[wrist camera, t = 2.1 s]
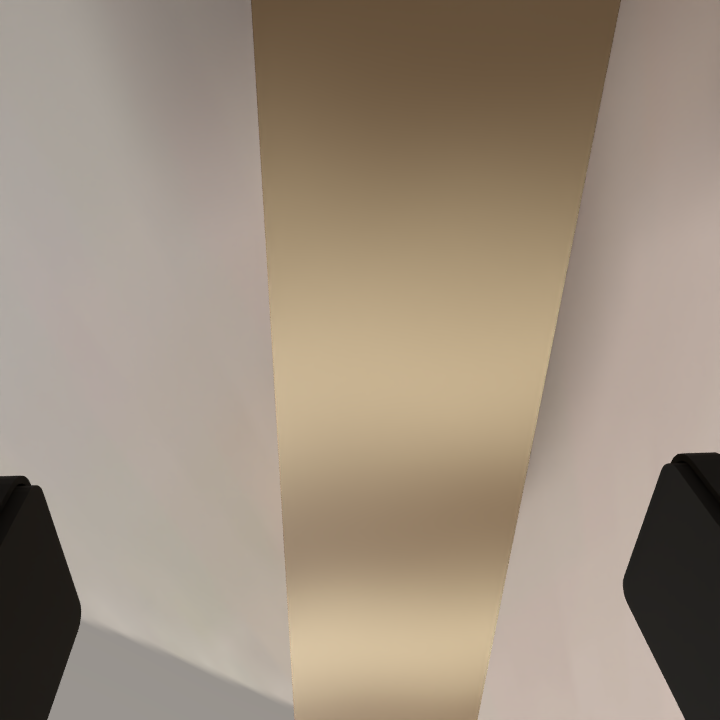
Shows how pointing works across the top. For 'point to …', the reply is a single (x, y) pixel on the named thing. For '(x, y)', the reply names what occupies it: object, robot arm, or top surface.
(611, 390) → the top surface
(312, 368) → the rail
